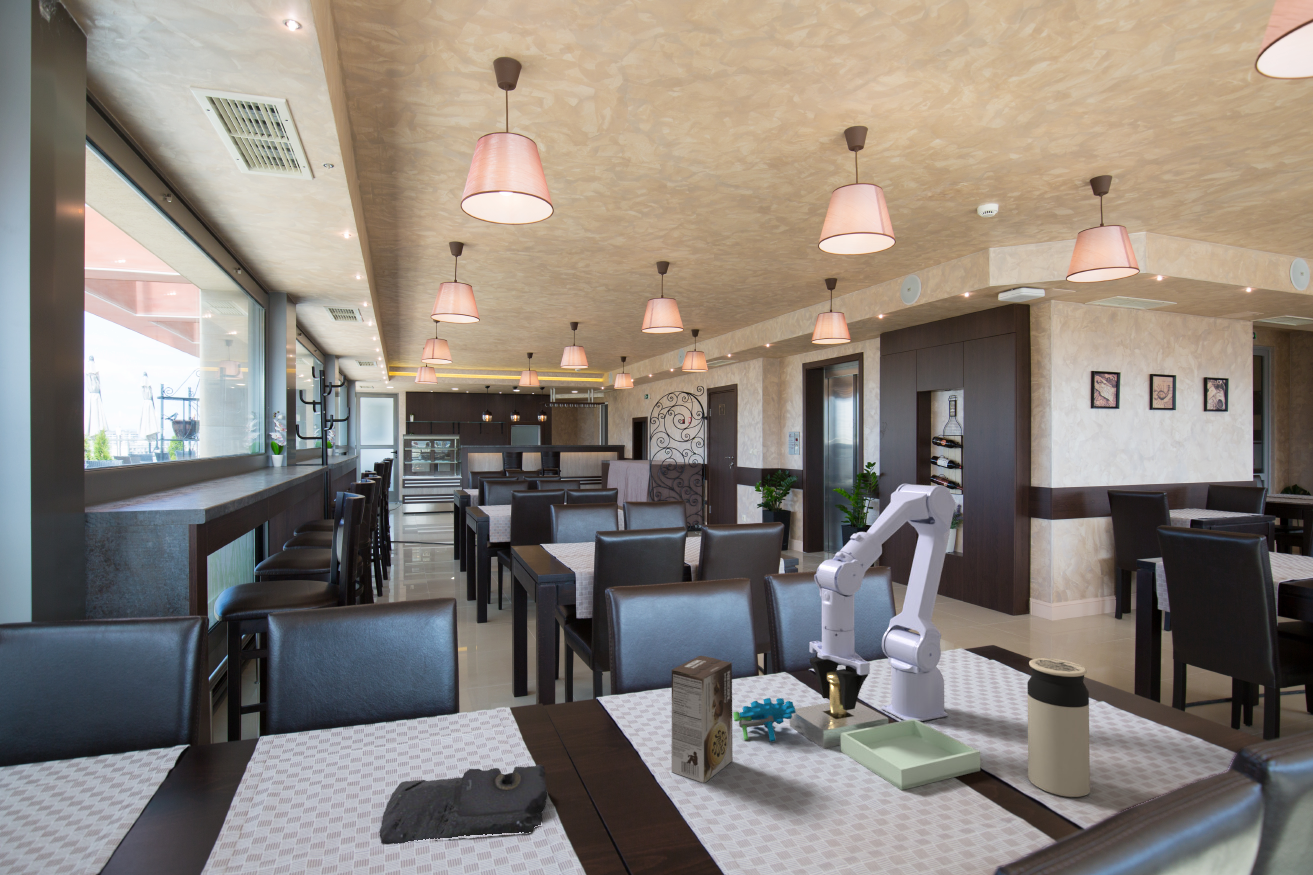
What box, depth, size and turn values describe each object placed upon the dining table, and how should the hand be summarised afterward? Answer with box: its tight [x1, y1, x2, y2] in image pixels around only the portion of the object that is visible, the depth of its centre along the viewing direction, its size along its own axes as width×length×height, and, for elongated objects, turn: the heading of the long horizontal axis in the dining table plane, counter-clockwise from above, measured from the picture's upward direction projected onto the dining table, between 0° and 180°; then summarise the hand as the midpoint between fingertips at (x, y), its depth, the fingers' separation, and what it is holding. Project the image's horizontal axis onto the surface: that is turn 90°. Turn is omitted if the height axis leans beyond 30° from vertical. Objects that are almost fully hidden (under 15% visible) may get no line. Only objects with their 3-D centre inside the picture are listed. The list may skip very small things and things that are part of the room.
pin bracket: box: [789, 701, 889, 749], centre depth 120 cm, size 14×10×3 cm
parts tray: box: [840, 719, 981, 791], centre depth 109 cm, size 16×14×3 cm
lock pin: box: [827, 671, 847, 719], centre depth 120 cm, size 4×4×10 cm
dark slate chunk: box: [379, 763, 549, 845], centre depth 94 cm, size 15×22×5 cm
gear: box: [732, 697, 796, 742], centre depth 118 cm, size 11×6×10 cm
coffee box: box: [670, 655, 734, 784], centre depth 106 cm, size 9×6×16 cm
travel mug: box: [1026, 657, 1091, 798], centre depth 101 cm, size 8×8×18 cm
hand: (838, 702), depth 120 cm, fingers open, 5 cm apart
